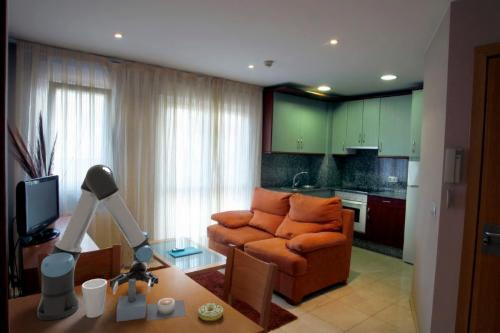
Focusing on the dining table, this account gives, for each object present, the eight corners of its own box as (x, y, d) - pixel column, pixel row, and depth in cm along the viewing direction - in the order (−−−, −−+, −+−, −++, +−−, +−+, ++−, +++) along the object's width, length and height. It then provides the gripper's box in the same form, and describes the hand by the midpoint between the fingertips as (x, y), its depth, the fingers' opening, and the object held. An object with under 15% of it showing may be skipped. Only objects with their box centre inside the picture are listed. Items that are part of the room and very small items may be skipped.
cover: (116, 322, 125) (116, 287, 124) (119, 308, 135) (119, 276, 134) (145, 318, 128) (145, 284, 127) (145, 305, 138) (146, 273, 137)
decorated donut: (224, 310, 137) (224, 301, 137) (221, 323, 126) (221, 314, 126) (200, 309, 137) (201, 300, 137) (196, 322, 126) (196, 313, 126)
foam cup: (96, 321, 125) (96, 289, 124) (76, 318, 127) (76, 287, 126) (111, 309, 134) (111, 280, 134) (93, 306, 136) (92, 277, 136)
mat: (146, 321, 126) (146, 320, 126) (147, 304, 139) (147, 304, 139) (186, 316, 130) (186, 315, 130) (183, 300, 144) (183, 299, 144)
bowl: (157, 314, 130) (158, 306, 130) (157, 306, 137) (157, 298, 137) (174, 312, 132) (175, 304, 132) (173, 304, 139) (174, 297, 139)
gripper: (165, 276, 152) (162, 296, 131) (110, 279, 146) (99, 301, 126) (165, 261, 151) (162, 279, 131) (110, 264, 146) (99, 283, 125)
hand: (131, 290), depth 128 cm, fingers open, 13 cm apart
